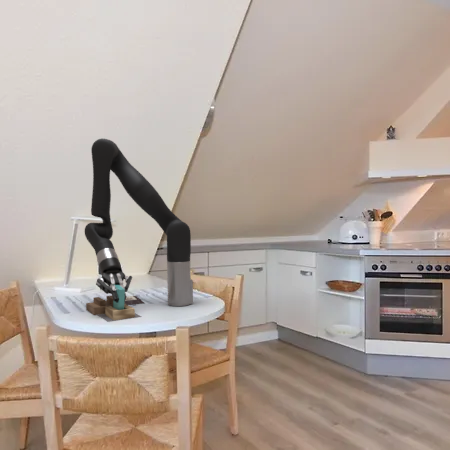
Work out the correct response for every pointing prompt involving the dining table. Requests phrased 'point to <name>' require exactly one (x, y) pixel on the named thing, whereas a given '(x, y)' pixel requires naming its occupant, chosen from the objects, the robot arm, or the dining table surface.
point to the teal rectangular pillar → (121, 298)
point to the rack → (120, 312)
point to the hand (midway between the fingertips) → (120, 300)
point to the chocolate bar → (133, 300)
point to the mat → (115, 320)
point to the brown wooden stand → (99, 305)
